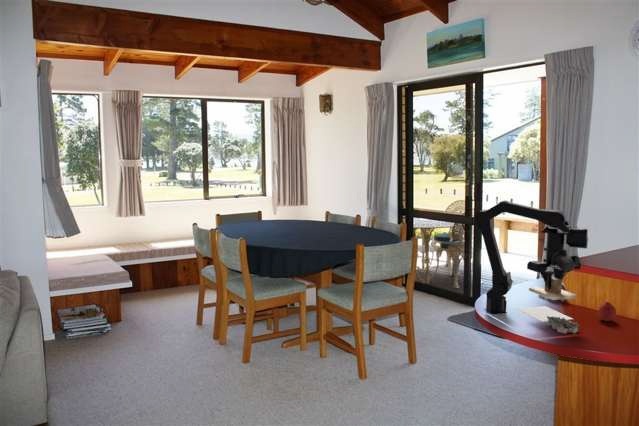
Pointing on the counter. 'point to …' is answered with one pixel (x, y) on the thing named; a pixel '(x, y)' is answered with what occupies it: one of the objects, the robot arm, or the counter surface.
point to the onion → (607, 311)
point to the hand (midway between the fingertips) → (552, 288)
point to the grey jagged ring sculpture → (562, 325)
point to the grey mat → (543, 313)
